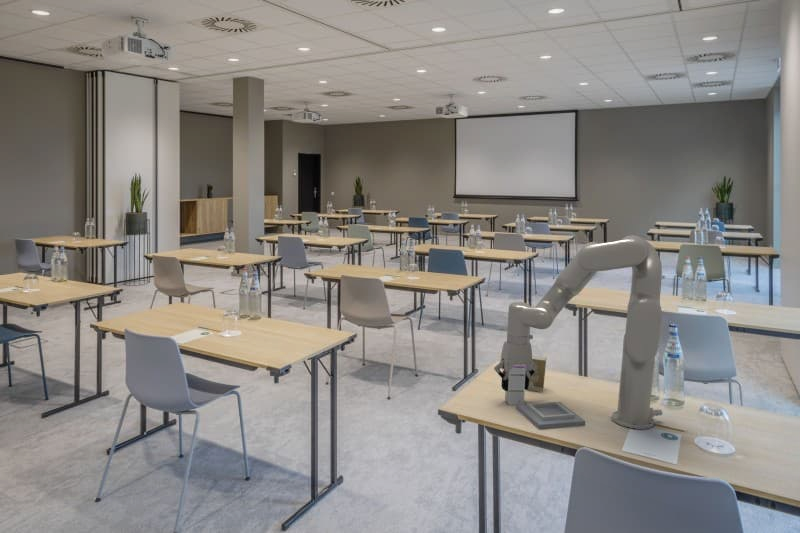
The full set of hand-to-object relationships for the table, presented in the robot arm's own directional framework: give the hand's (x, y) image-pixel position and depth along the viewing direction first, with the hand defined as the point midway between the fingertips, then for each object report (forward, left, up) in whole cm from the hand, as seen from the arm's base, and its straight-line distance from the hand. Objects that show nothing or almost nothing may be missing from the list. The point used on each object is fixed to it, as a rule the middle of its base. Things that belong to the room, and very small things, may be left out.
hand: (514, 388), depth 201 cm
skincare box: (-13, -10, -5) cm, 17 cm away
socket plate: (-6, +14, -5) cm, 16 cm away
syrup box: (0, 0, -5) cm, 5 cm away
